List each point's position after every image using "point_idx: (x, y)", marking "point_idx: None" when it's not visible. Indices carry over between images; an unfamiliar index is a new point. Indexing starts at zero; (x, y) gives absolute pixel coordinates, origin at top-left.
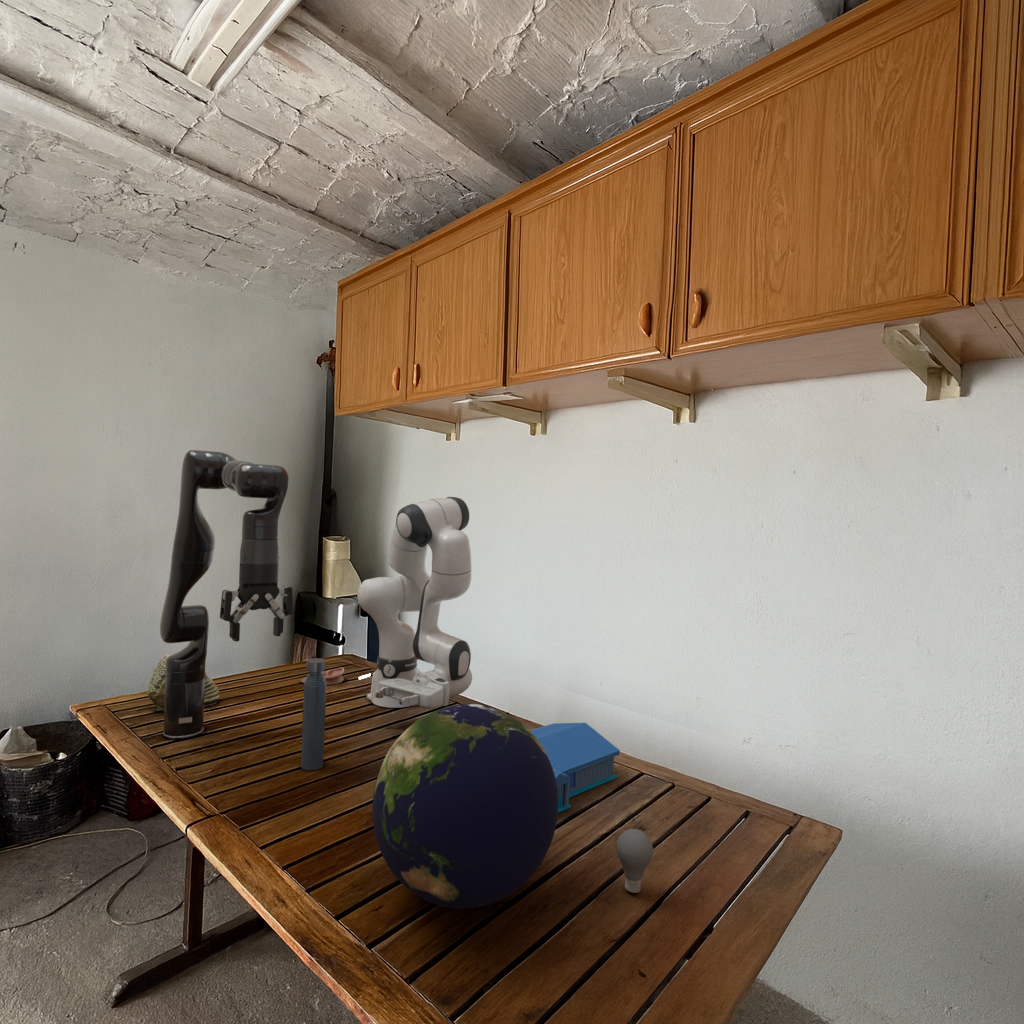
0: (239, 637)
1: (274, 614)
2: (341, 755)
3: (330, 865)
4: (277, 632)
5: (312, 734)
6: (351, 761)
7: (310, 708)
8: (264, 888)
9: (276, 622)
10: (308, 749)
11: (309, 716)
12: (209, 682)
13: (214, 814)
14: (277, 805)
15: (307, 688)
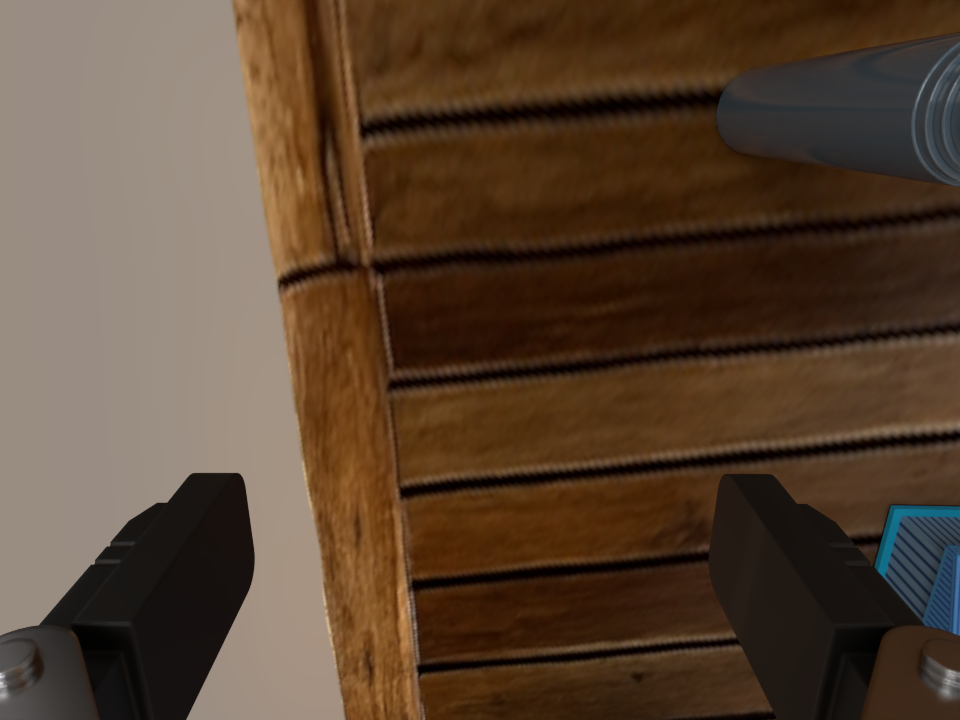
0: (239, 608)
1: (862, 707)
2: None
3: (494, 629)
4: (725, 608)
5: (791, 157)
6: None
7: (844, 156)
8: (355, 621)
9: (782, 676)
10: (753, 144)
11: (820, 149)
12: None
13: (355, 263)
14: (522, 321)
15: (901, 137)
